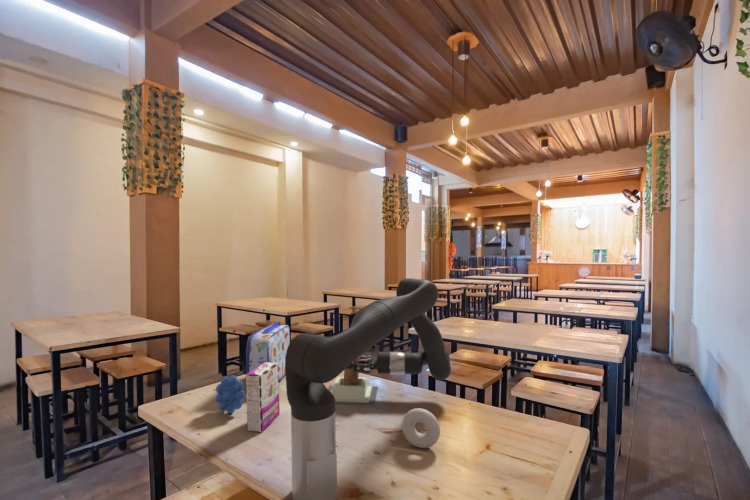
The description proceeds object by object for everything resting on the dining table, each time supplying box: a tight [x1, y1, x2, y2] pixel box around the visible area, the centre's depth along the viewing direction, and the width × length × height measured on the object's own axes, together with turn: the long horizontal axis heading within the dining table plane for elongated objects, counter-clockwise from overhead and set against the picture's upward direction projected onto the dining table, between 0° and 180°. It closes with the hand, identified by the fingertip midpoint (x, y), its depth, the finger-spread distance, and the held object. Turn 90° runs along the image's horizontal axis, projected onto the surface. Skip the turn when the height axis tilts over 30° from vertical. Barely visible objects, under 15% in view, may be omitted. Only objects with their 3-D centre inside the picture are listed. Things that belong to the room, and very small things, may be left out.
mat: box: [327, 384, 379, 407], centre depth 128 cm, size 18×16×1 cm
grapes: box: [215, 375, 246, 414], centre depth 117 cm, size 12×7×12 cm, turn 66°
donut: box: [401, 407, 441, 449], centre depth 95 cm, size 10×4×10 cm, turn 69°
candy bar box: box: [245, 362, 281, 433], centre depth 109 cm, size 11×5×16 cm, turn 168°
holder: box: [331, 376, 373, 403], centre depth 128 cm, size 14×12×4 cm
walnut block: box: [343, 356, 360, 386], centre depth 128 cm, size 4×4×14 cm
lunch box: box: [244, 321, 291, 385], centre depth 143 cm, size 28×10×22 cm, turn 176°
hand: (342, 362), depth 128 cm, fingers closed on walnut block, 4 cm apart
